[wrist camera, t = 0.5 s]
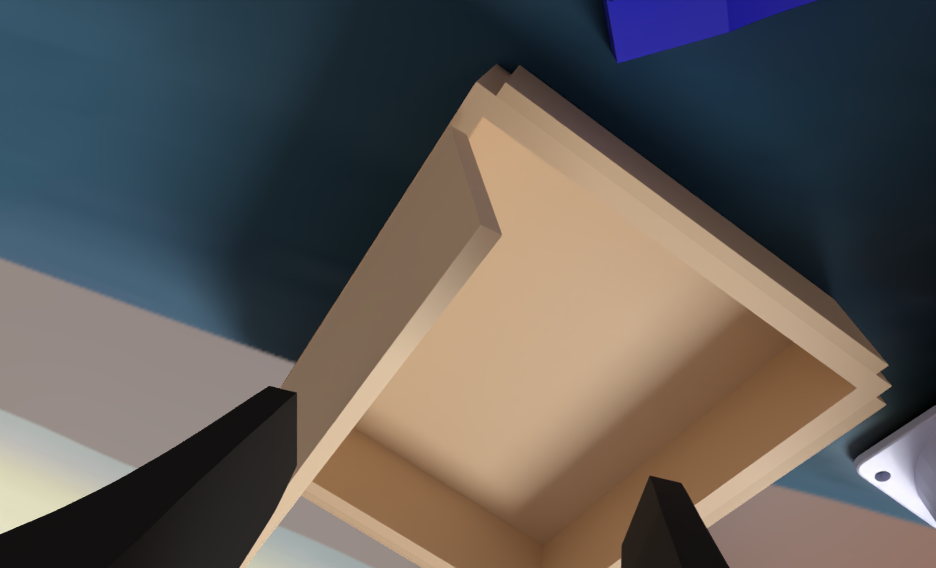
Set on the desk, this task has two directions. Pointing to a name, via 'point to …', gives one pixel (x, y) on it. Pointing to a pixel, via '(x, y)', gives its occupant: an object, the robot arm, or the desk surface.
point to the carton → (592, 360)
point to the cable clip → (679, 22)
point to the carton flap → (388, 307)
